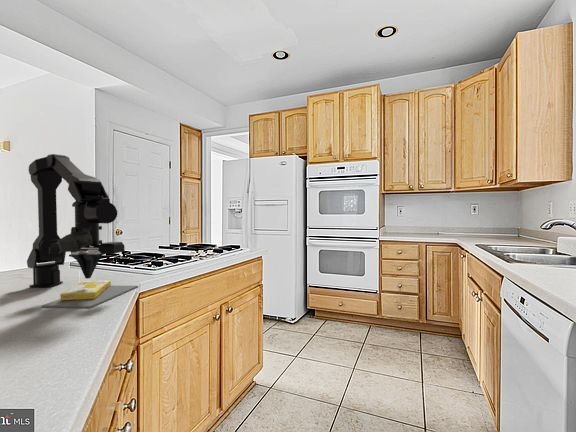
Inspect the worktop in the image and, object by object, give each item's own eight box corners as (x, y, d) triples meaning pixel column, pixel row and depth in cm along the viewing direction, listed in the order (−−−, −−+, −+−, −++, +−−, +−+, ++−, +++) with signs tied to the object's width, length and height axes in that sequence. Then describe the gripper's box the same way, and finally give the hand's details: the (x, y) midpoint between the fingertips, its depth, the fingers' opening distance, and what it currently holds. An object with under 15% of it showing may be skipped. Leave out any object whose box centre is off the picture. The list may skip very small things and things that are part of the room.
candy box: (59, 301, 85) (95, 299, 87) (59, 293, 85) (95, 291, 87) (81, 287, 101) (111, 285, 103) (81, 280, 101) (111, 278, 103)
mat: (41, 307, 82) (41, 305, 82) (98, 286, 104) (98, 285, 104) (90, 308, 81) (90, 306, 81) (138, 287, 103) (138, 285, 103)
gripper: (31, 224, 85) (32, 284, 85) (100, 224, 83) (101, 285, 83) (64, 222, 96) (65, 275, 96) (125, 222, 94) (126, 276, 95)
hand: (88, 278), depth 92 cm, fingers closed
